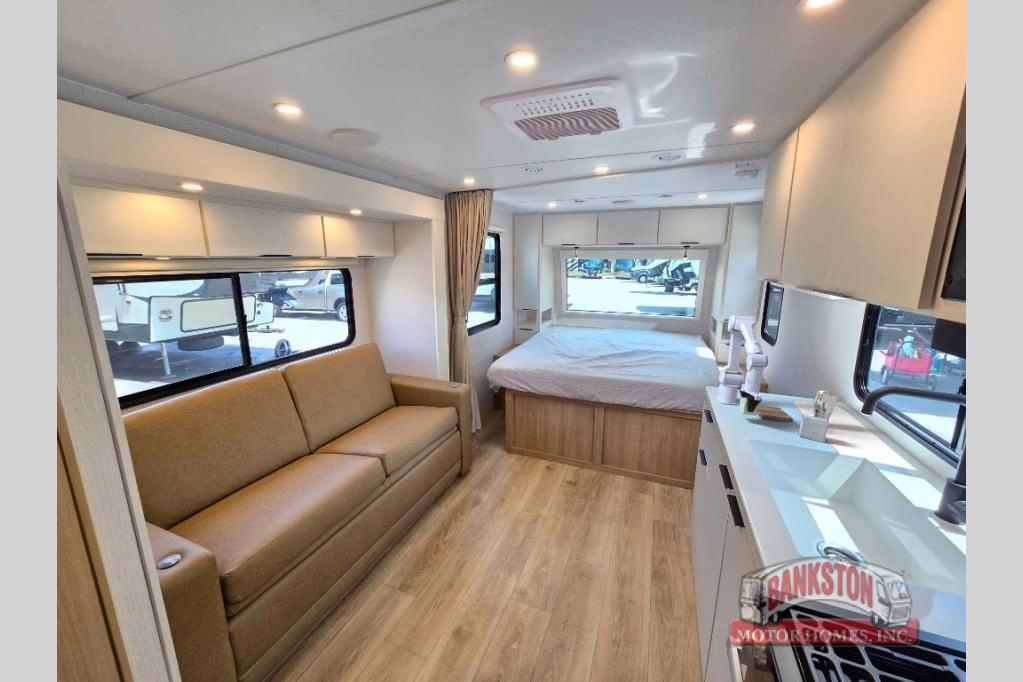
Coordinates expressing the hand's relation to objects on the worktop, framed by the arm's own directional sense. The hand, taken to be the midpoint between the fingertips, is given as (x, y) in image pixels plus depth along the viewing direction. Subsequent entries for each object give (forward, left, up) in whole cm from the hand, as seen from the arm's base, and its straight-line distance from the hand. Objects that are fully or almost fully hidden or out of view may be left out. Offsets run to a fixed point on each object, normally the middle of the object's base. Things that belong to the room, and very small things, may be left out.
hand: (747, 409), depth 158 cm
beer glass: (-4, +31, -6) cm, 32 cm away
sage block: (0, 0, -2) cm, 2 cm away
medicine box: (+11, +20, -6) cm, 24 cm away
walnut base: (-9, +14, -6) cm, 17 cm away
